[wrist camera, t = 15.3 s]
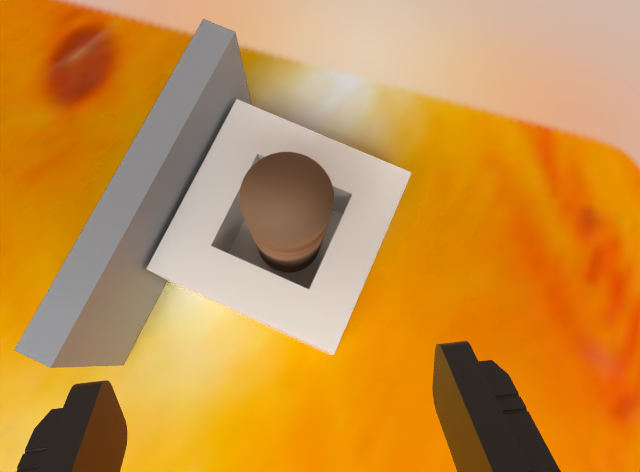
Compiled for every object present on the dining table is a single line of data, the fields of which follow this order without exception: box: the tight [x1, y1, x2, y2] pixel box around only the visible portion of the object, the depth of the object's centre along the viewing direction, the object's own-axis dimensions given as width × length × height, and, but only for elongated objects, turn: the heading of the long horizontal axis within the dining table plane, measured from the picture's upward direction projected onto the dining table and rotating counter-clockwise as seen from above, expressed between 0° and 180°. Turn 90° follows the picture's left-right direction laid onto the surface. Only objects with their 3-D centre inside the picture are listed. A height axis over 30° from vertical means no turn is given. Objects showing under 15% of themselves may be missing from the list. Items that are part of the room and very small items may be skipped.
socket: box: [147, 99, 412, 355], centre depth 34 cm, size 12×12×6 cm
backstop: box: [14, 19, 252, 368], centre depth 32 cm, size 20×5×10 cm, turn 156°
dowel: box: [239, 152, 334, 273], centre depth 30 cm, size 4×4×12 cm
